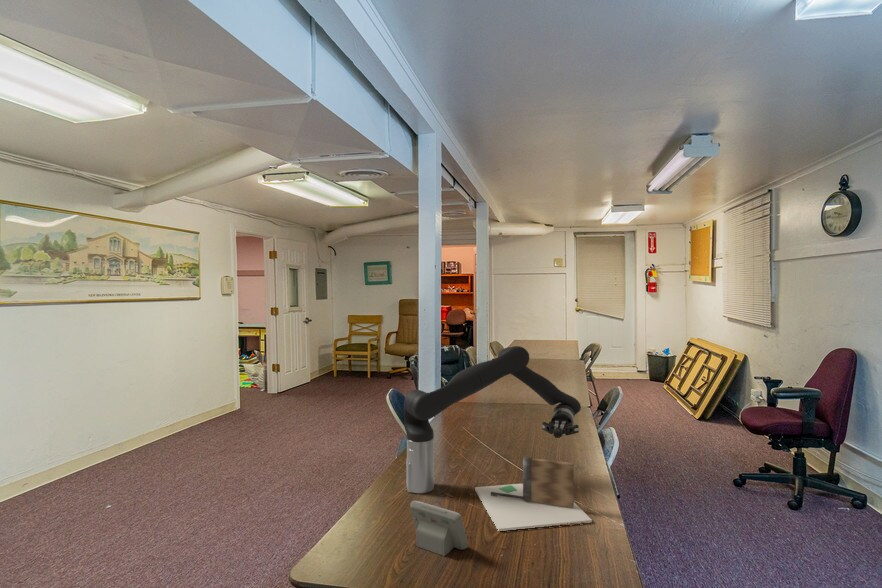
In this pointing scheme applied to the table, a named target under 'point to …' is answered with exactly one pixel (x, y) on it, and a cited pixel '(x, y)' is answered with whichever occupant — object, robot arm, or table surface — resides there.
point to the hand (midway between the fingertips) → (557, 435)
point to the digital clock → (438, 528)
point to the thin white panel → (525, 509)
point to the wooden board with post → (547, 482)
